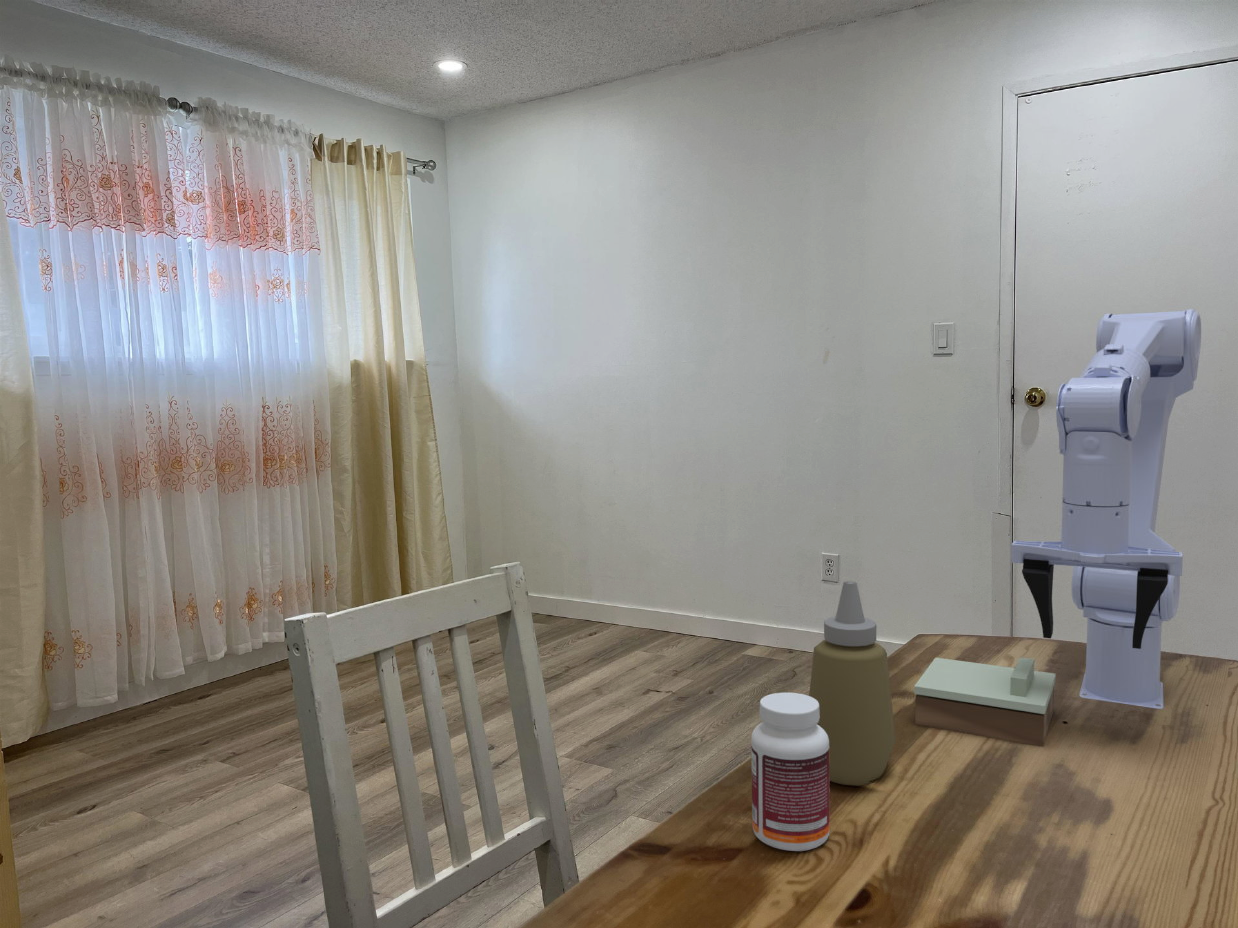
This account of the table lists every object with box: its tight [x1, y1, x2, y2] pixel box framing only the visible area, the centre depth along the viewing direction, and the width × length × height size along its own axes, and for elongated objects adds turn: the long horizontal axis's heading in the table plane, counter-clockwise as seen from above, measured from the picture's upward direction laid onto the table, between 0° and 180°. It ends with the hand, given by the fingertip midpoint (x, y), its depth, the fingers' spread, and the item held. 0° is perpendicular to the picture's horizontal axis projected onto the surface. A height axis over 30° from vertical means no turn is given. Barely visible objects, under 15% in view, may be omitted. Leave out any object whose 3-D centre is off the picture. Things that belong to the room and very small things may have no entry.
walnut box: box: [914, 686, 1055, 747], centre depth 95 cm, size 10×12×4 cm
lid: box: [913, 657, 1057, 714], centre depth 94 cm, size 10×12×3 cm
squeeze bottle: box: [808, 581, 896, 786], centre depth 83 cm, size 8×8×18 cm
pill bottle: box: [750, 692, 831, 852], centre depth 73 cm, size 6×6×11 cm
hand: (1091, 640), depth 89 cm, fingers open, 7 cm apart
